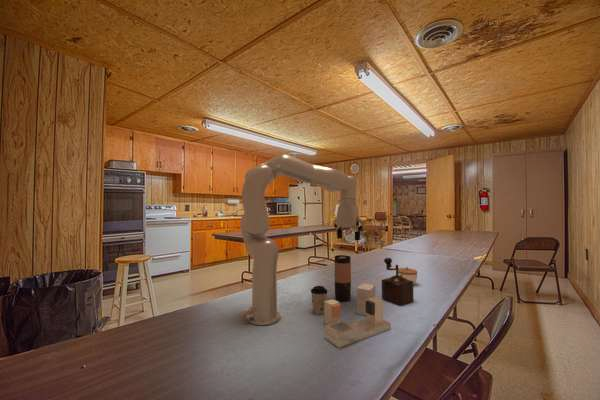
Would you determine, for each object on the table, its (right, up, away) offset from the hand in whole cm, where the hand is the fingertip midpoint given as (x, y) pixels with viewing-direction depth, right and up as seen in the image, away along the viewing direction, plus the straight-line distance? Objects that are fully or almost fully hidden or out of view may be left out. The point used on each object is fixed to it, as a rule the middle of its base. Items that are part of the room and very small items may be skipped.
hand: (348, 239), depth 123 cm
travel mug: (-2, -29, +1) cm, 29 cm away
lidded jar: (+37, -29, +24) cm, 53 cm away
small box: (+5, -28, -13) cm, 32 cm away
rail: (-2, -28, -32) cm, 42 cm away
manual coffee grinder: (+22, -29, +2) cm, 36 cm away
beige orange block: (-11, -28, -24) cm, 38 cm away
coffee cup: (-15, -28, -13) cm, 35 cm away
